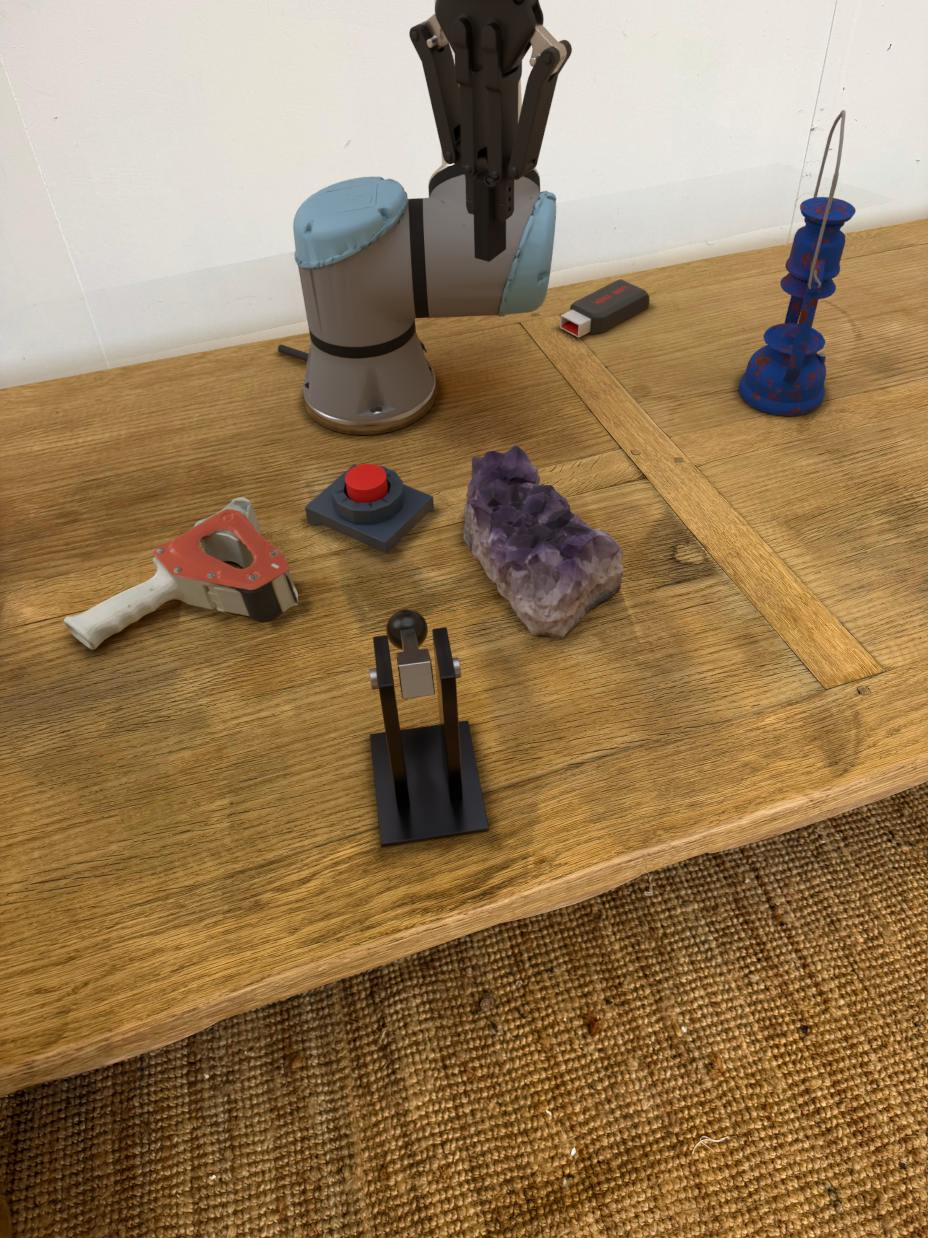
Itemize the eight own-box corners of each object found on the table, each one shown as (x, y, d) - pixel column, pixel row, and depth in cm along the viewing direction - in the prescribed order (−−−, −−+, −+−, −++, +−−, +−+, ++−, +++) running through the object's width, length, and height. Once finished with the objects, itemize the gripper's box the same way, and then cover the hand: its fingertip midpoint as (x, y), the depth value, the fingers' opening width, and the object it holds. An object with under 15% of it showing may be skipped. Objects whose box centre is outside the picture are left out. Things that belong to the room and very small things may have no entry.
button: (338, 494, 92) (336, 480, 90) (363, 472, 94) (361, 458, 92) (371, 508, 90) (369, 494, 89) (396, 486, 92) (394, 471, 91)
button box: (307, 523, 94) (301, 492, 91) (356, 480, 99) (352, 449, 96) (387, 559, 90) (383, 528, 87) (434, 512, 95) (432, 481, 92)
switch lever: (388, 645, 74) (383, 607, 73) (428, 640, 74) (423, 601, 73) (395, 706, 62) (389, 661, 61) (443, 699, 62) (438, 654, 61)
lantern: (825, 423, 103) (913, 134, 81) (738, 415, 104) (800, 130, 82) (820, 370, 110) (900, 91, 88) (738, 363, 111) (796, 87, 89)
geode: (418, 531, 93) (422, 443, 86) (516, 504, 98) (527, 418, 91) (529, 659, 80) (544, 568, 74) (636, 620, 85) (658, 531, 78)
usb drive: (648, 307, 121) (651, 287, 119) (584, 342, 116) (586, 322, 114) (618, 293, 124) (620, 273, 122) (554, 326, 118) (555, 306, 116)
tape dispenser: (69, 662, 85) (277, 679, 81) (43, 624, 81) (260, 640, 77) (143, 526, 96) (330, 535, 92) (124, 487, 92) (318, 494, 88)
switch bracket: (371, 742, 76) (347, 609, 64) (468, 728, 76) (462, 594, 65) (382, 852, 69) (358, 725, 58) (489, 836, 70) (486, 707, 58)
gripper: (376, -82, 64) (403, 253, 81) (542, -63, 58) (533, 291, 76) (439, -104, 68) (452, 219, 85) (599, -87, 63) (578, 253, 80)
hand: (490, 252), depth 80 cm, fingers closed
